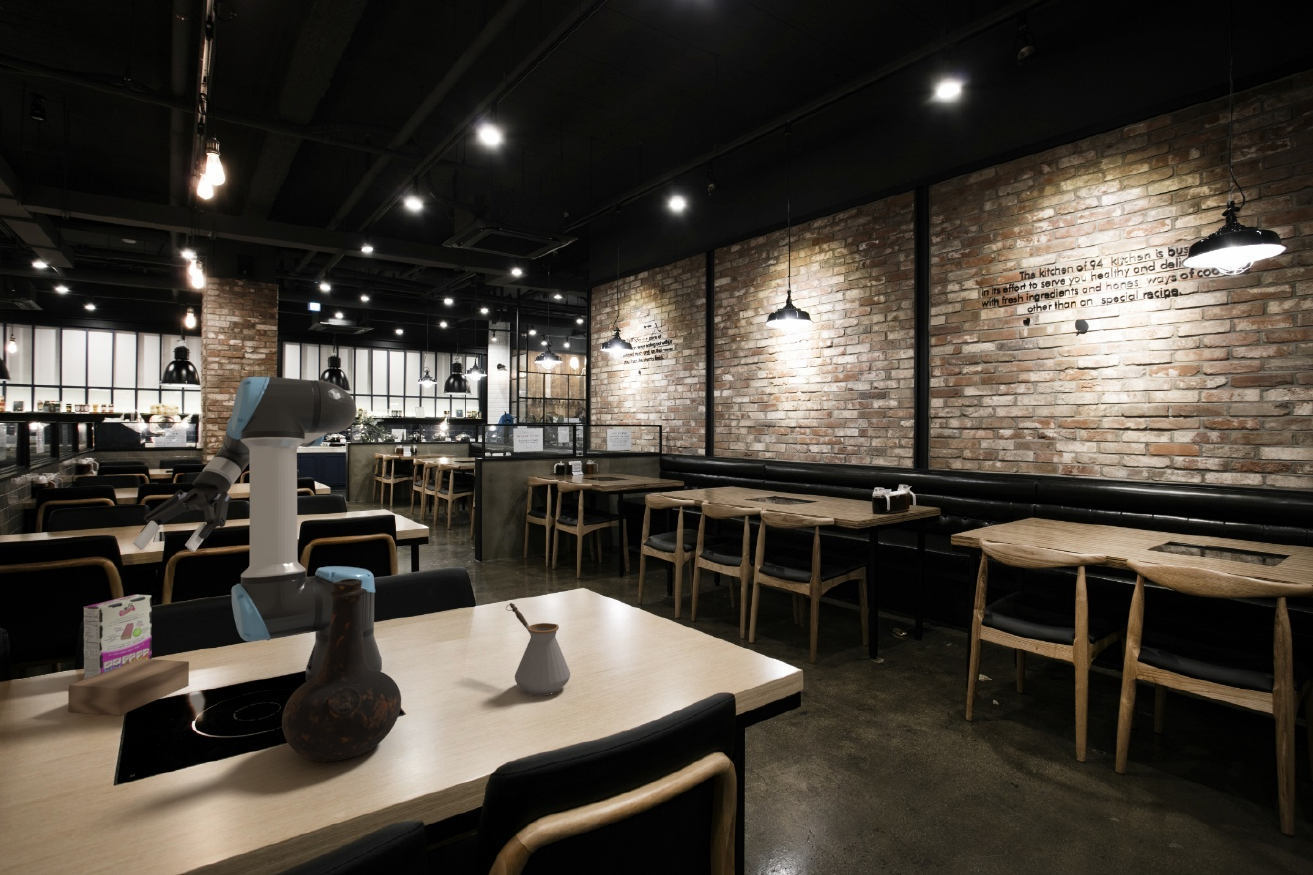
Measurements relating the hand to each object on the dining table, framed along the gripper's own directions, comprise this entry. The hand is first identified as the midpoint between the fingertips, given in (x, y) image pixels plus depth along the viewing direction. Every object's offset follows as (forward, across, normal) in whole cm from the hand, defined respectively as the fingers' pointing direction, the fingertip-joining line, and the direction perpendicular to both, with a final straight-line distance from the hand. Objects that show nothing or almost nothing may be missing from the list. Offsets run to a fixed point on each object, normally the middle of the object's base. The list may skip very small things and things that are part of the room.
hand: (163, 547), depth 151 cm
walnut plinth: (+33, -14, -3) cm, 36 cm away
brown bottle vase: (+42, -68, +6) cm, 81 cm away
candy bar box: (+26, 0, -11) cm, 28 cm away
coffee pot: (+18, -89, -18) cm, 93 cm away
